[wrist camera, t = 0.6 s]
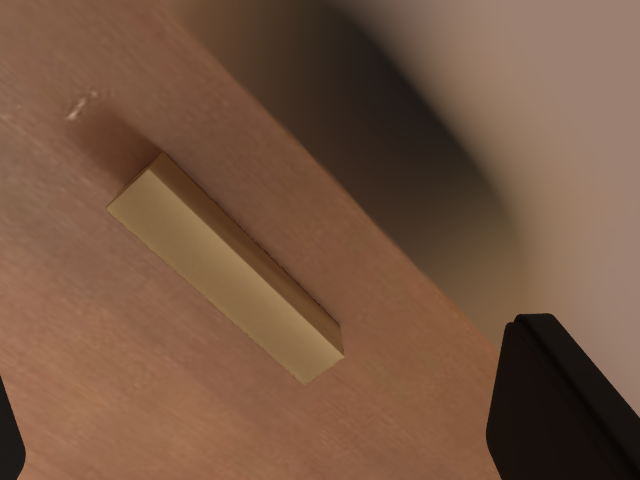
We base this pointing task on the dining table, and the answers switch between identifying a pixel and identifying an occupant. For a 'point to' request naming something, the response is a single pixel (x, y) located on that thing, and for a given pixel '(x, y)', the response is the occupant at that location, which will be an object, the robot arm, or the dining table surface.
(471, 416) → the dining table surface
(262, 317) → the stick
